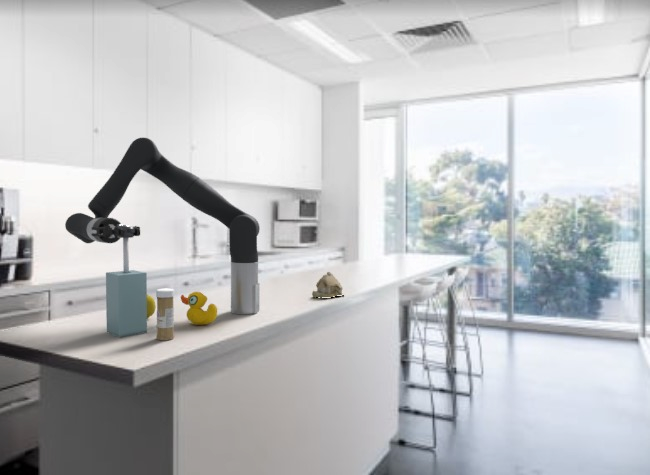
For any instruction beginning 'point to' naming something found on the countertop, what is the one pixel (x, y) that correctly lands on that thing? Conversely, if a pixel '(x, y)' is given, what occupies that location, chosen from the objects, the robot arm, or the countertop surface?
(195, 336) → the countertop surface
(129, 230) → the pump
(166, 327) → the sprinkles bottle
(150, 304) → the lemon
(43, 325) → the countertop surface
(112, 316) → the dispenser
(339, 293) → the ceramic model
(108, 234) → the robot arm
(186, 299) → the duckling
